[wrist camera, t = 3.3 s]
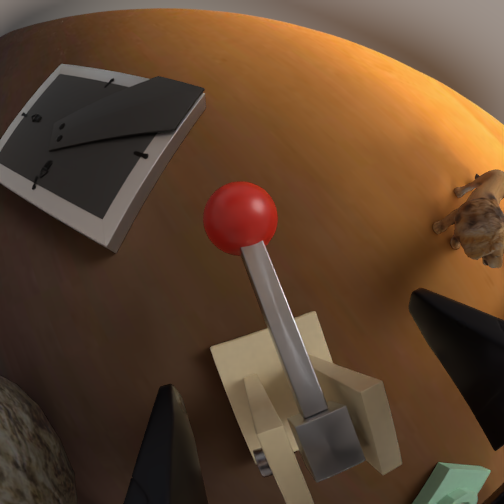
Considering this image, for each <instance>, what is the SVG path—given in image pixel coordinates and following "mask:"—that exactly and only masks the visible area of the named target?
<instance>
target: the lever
mask: <svg viewBox="0 0 504 504" xmlns="http://www.w3.org/2000/svg"><path fill="white" fill-rule="evenodd" d="M277 221H278V215H277V210H276V206H275V203H274V202H273V200H272V198H271V197H270V195H269V194H268V193H267V192H266V191H265V190H264V189H262V188H261V187H259V186H257V185H255V184H253V183H249V182H243V181H238V182H232V183H228V184H226V185H224V186H222V187H220V188H219V189H217V190H216V191H215V192H214V193H213V194H212V195H211V197H210V198H209V200H208V201H207V204H206V206H205V209H204V215H203V222H204V228H205V231H206V234H207V236H208V238H209V239H210V241H211V242H212V243H213V244H214V245H215V246H216V247H217V248H219V249H220V250H222V251H223V252H226V253H228V254H231V255H237V256H241V257H242V260H243V263H244V266H245V268H246V271H247V274H248V277H249V279H250V282H251V285H252V287H253V290H254V293H255V296H256V298H257V301H258V304H259V306H260V309H261V312H262V315H263V317H264V320H265V323H266V325H267V328H268V331H269V333H270V336H271V339H272V342H273V344H274V347H275V350H276V352H277V355H278V358H279V360H280V363H281V366H282V368H283V371H284V373H285V376H286V379H287V381H288V384H289V387H290V389H291V392H292V395H293V397H294V400H295V402H296V405H297V408H298V410H299V414H297V415H294V416H291V417H289V418H287V420H288V423H289V425H290V428H291V430H292V433H293V436H294V438H295V441H296V443H297V446H298V448H299V451H300V453H301V456H302V458H303V461H304V463H305V466H306V467H307V469H308V471H309V472H310V474H311V475H312V477H313V478H314V480H315V481H316V482H320V481H322V480H324V479H327V478H329V477H332V476H334V475H336V474H338V473H341V472H343V471H345V470H347V469H349V468H351V467H353V466H355V465H357V464H359V463H361V462H363V461H365V460H366V459H365V456H364V453H363V450H362V448H361V445H360V442H359V439H358V436H357V434H356V431H355V428H354V425H353V422H352V420H351V417H350V414H349V411H348V409H347V406H346V405H343V404H340V403H336V402H333V401H328V402H326V400H325V397H324V395H323V392H322V389H321V387H320V384H319V381H318V379H317V376H316V374H315V371H314V368H313V366H312V363H311V360H310V358H309V355H308V353H307V350H306V348H305V345H304V342H303V340H302V337H301V335H300V332H299V329H298V327H297V324H296V322H295V319H294V317H293V314H292V312H291V309H290V306H289V304H288V301H287V299H286V296H285V294H284V291H283V289H282V286H281V284H280V281H279V279H278V276H277V274H276V271H275V269H274V266H273V264H272V261H271V259H270V256H269V254H268V251H267V249H266V245H267V244H268V243H269V242H270V240H271V239H272V237H273V236H274V233H275V231H276V227H277Z"/></svg>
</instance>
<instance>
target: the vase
mask: <svg viewBox="0 0 504 504" xmlns="http://www.w3.org/2000/svg"><path fill="white" fill-rule="evenodd" d="M0 504H77V494H76V485H75V475H74V471H73V469H72V467H71V465H70V462H69V460H68V458H67V455H66V453H65V450H64V448H63V445H62V443H61V440H60V438H59V437H58V435H57V434H56V432H55V431H54V429H53V428H52V426H51V424H50V423H49V421H48V420H47V418H46V416H45V415H44V413H43V411H42V410H41V408H40V406H39V405H38V404H37V403H36V402H34V401H33V400H32V399H31V398H30V397H29V396H28V395H27V394H26V393H25V392H24V391H23V390H22V389H21V388H20V387H19V386H18V385H17V384H15V383H13V382H11V381H9V380H8V379H6V378H4V377H2V376H0Z"/></svg>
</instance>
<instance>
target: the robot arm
mask: <svg viewBox="0 0 504 504" xmlns="http://www.w3.org/2000/svg"><path fill="white" fill-rule="evenodd" d="M409 312H410V314H411V315H412V317H413V319H414V320H415V322H416V324H417V326H418V327H419V329H420V331H421V333H422V334H423V336H424V338H425V340H426V341H427V343H428V344H429V346H430V347H431V349H432V350H433V352H434V353H435V355H436V356H437V357H438V359H439V360H440V362H441V363H442V365H443V366H444V368H445V369H446V371H447V372H448V374H449V375H450V377H451V378H452V380H453V381H454V383H455V385H456V386H457V388H458V389H459V391H460V392H461V394H462V396H463V397H464V399H465V400H466V402H467V404H468V405H469V407H470V409H471V410H472V412H473V414H474V415H475V417H476V419H477V421H478V422H479V424H480V426H481V428H482V429H483V431H484V433H485V435H486V436H487V438H488V440H489V442H490V444H491V445H492V447H493V449H494V450H495V451H496V450H498V449H499V448H500V447H502V446H503V445H504V320H502V319H499V318H497V317H494V316H492V315H489V314H487V313H485V312H482V311H480V310H477V309H475V308H472V307H470V306H467V305H465V304H462V303H460V302H457V301H455V300H452V299H450V298H447V297H445V296H442V295H439V294H437V293H434V292H432V291H429V290H427V289H424V288H418V289H417V290H415V291H413V292H412V294H411V298H410V302H409ZM132 477H133V478H131V481H130V485H129V488H128V491H127V494H126V498H125V501H124V503H123V504H208V500H207V496H206V491H205V487H204V483H203V478H202V473H201V469H200V464H199V459H198V454H197V448H196V443H195V439H194V436H193V432H192V429H191V426H190V422H189V419H188V416H187V412H186V409H185V405H184V402H183V399H182V397H181V395H180V394H179V392H178V391H177V390H176V388H175V387H174V386H173V385H172V384H168V385H164V386H161V387H160V388H159V391H158V394H157V397H156V400H155V403H154V406H153V409H152V412H151V415H150V418H149V422H148V425H147V428H146V431H145V434H144V438H143V441H142V444H141V447H140V451H139V454H138V457H137V461H136V464H135V467H134V471H133V474H132ZM482 504H504V483H503V484H502V485H501V486H500V487H499V488H498V489H497V490H496V491H495V492H494V493H493V494H492V495H491V496H490V497H489V498H487V499H486V500H485V501H484V502H483V503H482Z"/></svg>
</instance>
